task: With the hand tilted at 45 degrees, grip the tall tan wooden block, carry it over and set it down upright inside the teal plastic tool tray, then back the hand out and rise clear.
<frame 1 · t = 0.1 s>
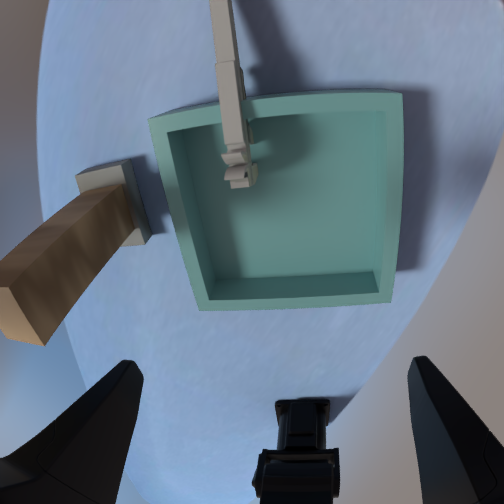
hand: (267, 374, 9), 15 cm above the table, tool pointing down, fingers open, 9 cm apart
tool tray: (287, 195, 22), on the table
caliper: (231, 22, 16), on the table, touching tool tray
tall tan wooden block: (117, 201, 23), on the table
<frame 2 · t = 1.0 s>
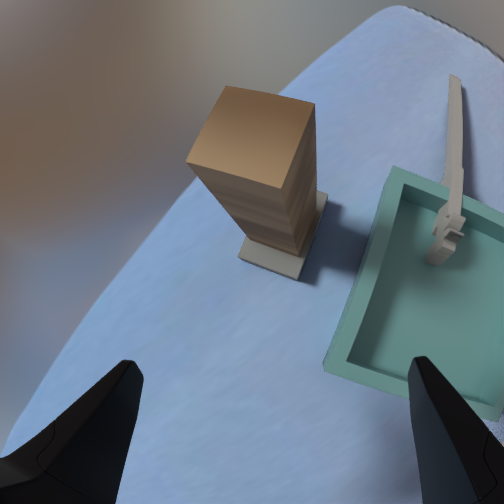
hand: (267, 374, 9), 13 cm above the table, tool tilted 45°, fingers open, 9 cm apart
tool tray: (441, 301, 20), on the table
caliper: (444, 157, 23), on the table, touching tool tray
tall tan wooden block: (285, 230, 24), on the table
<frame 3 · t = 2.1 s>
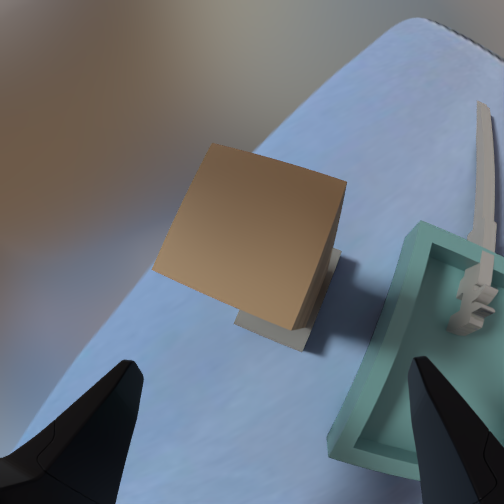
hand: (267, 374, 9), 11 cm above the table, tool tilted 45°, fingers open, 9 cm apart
tool tray: (460, 369, 17), on the table
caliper: (471, 201, 20), on the table, touching tool tray
tall tan wooden block: (289, 290, 20), on the table
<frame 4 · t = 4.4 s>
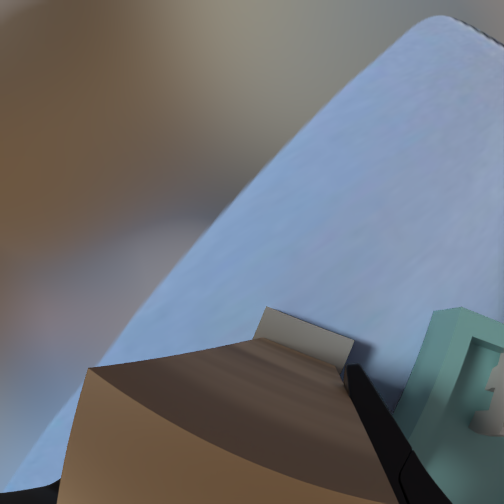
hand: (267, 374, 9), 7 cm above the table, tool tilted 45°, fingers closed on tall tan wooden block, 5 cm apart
tool tray: (478, 456, 12), on the table
tall tan wooden block: (286, 381, 15), on the table, touching gripper
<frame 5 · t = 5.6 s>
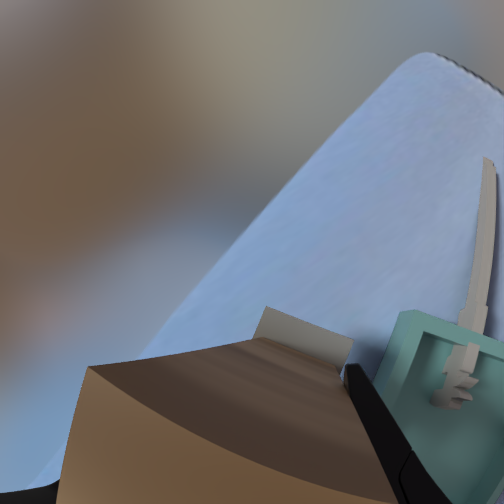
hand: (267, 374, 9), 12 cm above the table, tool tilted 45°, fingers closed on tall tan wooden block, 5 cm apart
tool tray: (442, 428, 17), on the table
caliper: (467, 270, 21), on the table, touching tool tray
tall tan wooden block: (285, 380, 15), point 6 cm above the table, touching gripper
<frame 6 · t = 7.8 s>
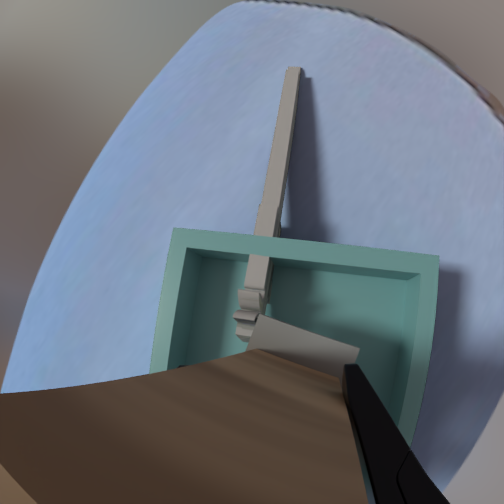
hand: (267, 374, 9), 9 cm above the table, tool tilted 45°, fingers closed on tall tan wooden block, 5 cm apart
tool tray: (289, 373, 18), on the table
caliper: (282, 183, 21), on the table, touching tool tray
tall tan wooden block: (285, 395, 13), point 4 cm above the table, touching gripper
when the fingers open (9 cm above the table, at t = 8.1 s): tall tan wooden block drops 3 cm, resting on tool tray.
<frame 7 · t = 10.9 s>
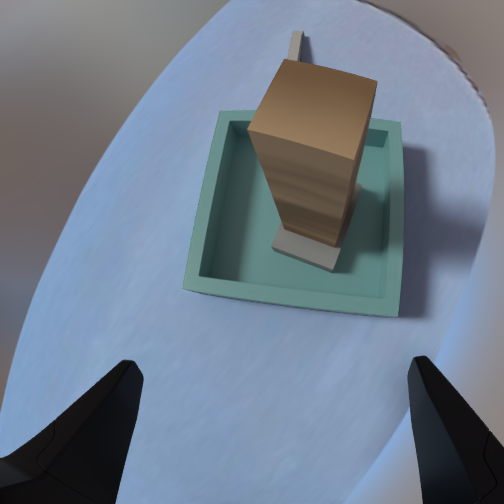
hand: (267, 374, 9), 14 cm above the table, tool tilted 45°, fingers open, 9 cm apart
tool tray: (303, 214, 24), on the table
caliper: (292, 101, 28), on the table, touching tool tray
tall tan wooden block: (318, 220, 23), point 1 cm above the table, touching tool tray
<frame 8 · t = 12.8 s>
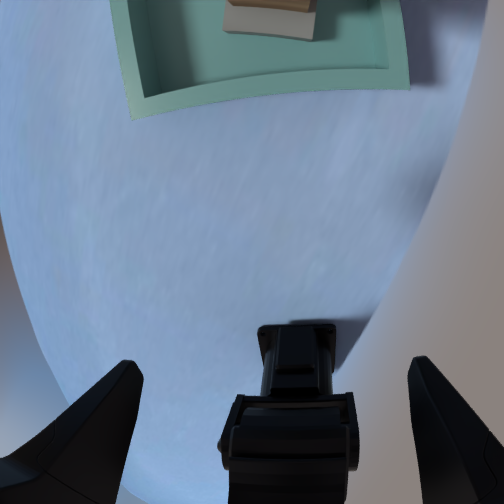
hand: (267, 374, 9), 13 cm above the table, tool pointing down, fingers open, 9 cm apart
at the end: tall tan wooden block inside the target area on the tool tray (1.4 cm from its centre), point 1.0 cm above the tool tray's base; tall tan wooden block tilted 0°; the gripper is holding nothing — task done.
